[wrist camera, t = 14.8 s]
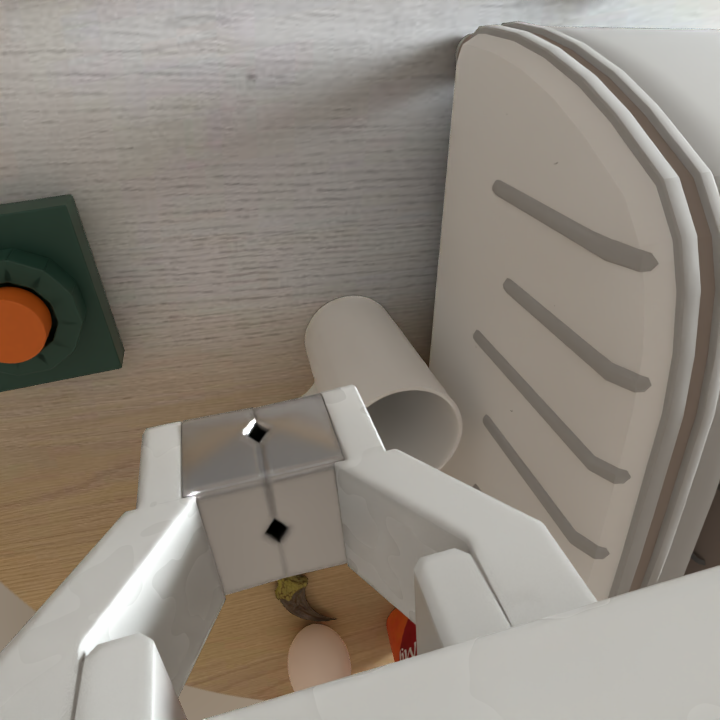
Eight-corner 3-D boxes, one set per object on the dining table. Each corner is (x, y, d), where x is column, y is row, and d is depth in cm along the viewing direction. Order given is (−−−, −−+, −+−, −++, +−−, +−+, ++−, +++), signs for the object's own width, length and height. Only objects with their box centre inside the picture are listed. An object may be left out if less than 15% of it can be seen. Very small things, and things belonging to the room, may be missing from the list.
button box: (-89, 217, 31) (-121, 242, 28) (71, 193, 33) (59, 215, 29) (-11, 377, 37) (-30, 414, 33) (125, 351, 38) (119, 384, 35)
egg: (340, 640, 58) (361, 722, 52) (283, 653, 57) (297, 738, 50) (339, 603, 55) (361, 684, 49) (280, 616, 54) (294, 701, 48)
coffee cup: (366, 608, 57) (419, 779, 44) (447, 576, 57) (521, 736, 45) (384, 655, 61) (437, 822, 49) (459, 626, 62) (530, 783, 50)
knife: (339, 622, 55) (286, 641, 54) (336, 614, 56) (284, 632, 55) (321, 510, 48) (260, 528, 47) (319, 502, 49) (257, 520, 47)
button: (-38, 292, 30) (-49, 307, 29) (37, 280, 31) (30, 293, 29) (-9, 353, 32) (-18, 370, 31) (61, 340, 33) (56, 356, 31)
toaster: (392, 577, 55) (501, 868, 37) (431, 18, 33) (765, 36, 14) (596, 536, 60) (784, 774, 42) (752, 24, 38) (1315, 44, 19)
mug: (356, 270, 39) (418, 362, 29) (413, 334, 43) (485, 435, 33) (243, 367, 41) (264, 486, 31) (307, 421, 44) (345, 543, 34)
